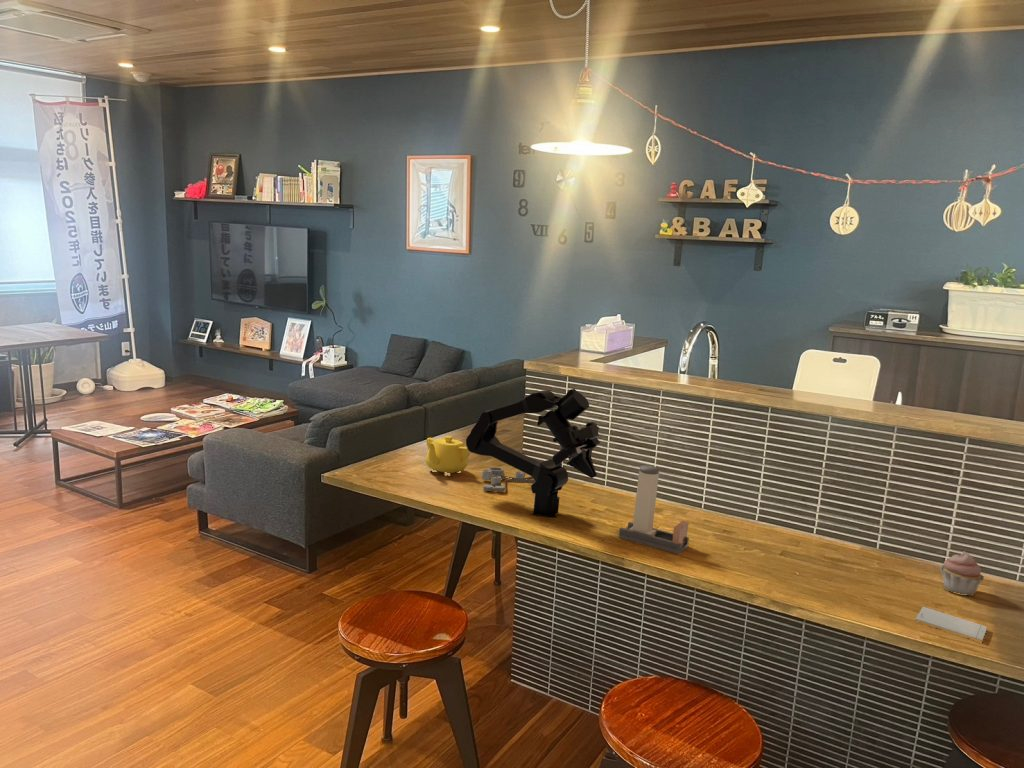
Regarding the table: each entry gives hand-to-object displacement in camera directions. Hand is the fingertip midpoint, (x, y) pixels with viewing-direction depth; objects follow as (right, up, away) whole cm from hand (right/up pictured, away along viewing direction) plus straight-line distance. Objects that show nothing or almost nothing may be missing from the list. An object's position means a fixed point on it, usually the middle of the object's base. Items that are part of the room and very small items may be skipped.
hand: (594, 476), depth 202 cm
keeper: (+12, -14, -6) cm, 19 cm away
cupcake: (+85, -25, -23) cm, 91 cm away
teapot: (-45, -4, +40) cm, 60 cm away
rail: (+15, -16, -7) cm, 23 cm away
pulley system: (-24, -7, +36) cm, 44 cm away
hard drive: (+71, -27, -42) cm, 87 cm away
